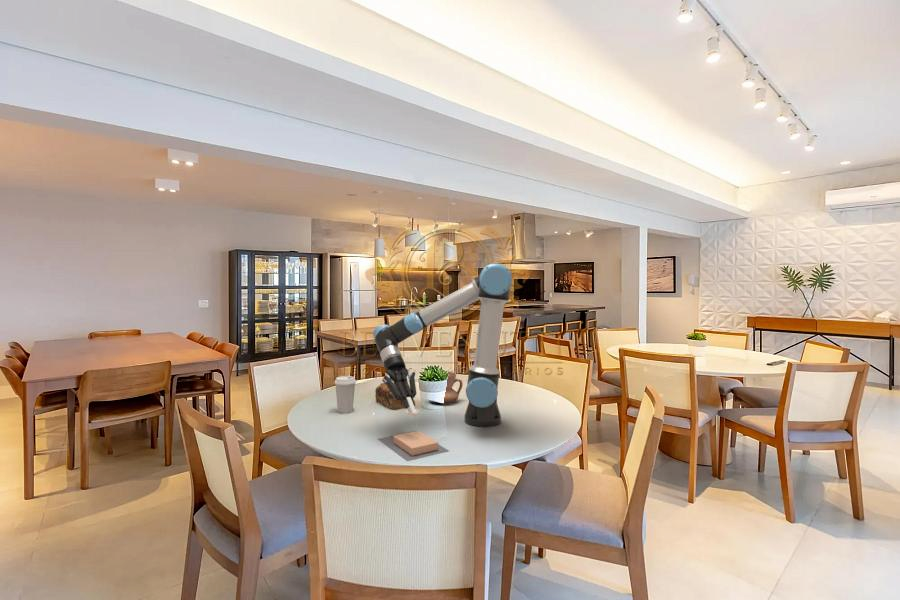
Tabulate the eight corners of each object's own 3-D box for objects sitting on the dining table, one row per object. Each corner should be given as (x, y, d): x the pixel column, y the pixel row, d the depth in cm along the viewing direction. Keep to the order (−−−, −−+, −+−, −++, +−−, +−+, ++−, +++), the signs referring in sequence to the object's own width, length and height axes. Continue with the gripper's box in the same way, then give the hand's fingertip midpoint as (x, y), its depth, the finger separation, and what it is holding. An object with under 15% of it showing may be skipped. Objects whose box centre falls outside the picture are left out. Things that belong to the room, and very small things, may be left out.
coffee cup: (350, 414, 187) (350, 380, 187) (330, 413, 189) (330, 379, 189) (359, 408, 196) (359, 376, 196) (340, 407, 198) (340, 375, 198)
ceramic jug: (427, 407, 200) (428, 376, 200) (424, 399, 215) (424, 370, 214) (465, 405, 203) (465, 375, 203) (459, 397, 218) (459, 369, 217)
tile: (393, 435, 152) (412, 448, 140) (418, 430, 157) (438, 442, 145) (393, 443, 152) (412, 456, 140) (418, 438, 157) (438, 450, 145)
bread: (411, 407, 200) (411, 386, 199) (390, 410, 194) (390, 388, 194) (394, 398, 215) (394, 379, 215) (374, 401, 210) (374, 381, 209)
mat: (376, 439, 156) (376, 438, 156) (415, 432, 165) (415, 431, 165) (407, 462, 136) (407, 461, 136) (449, 452, 145) (449, 451, 145)
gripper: (405, 364, 169) (426, 417, 155) (373, 368, 162) (393, 423, 148) (411, 353, 164) (433, 406, 151) (379, 355, 157) (399, 412, 144)
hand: (413, 415), depth 150 cm, fingers closed
